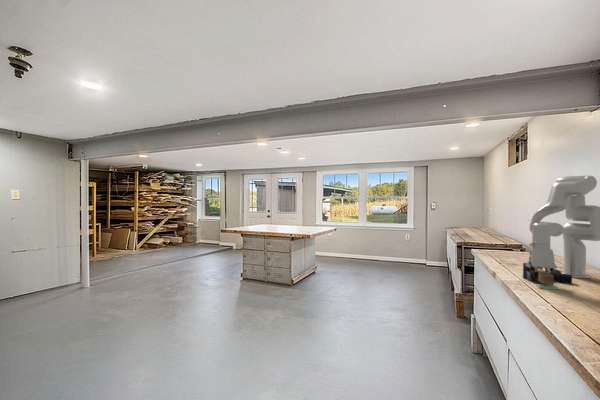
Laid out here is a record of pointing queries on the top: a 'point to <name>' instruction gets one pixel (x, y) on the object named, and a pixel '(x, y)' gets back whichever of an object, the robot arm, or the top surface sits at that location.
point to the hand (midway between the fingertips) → (541, 278)
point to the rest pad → (547, 286)
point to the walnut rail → (544, 277)
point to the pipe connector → (561, 277)
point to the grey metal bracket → (529, 273)
